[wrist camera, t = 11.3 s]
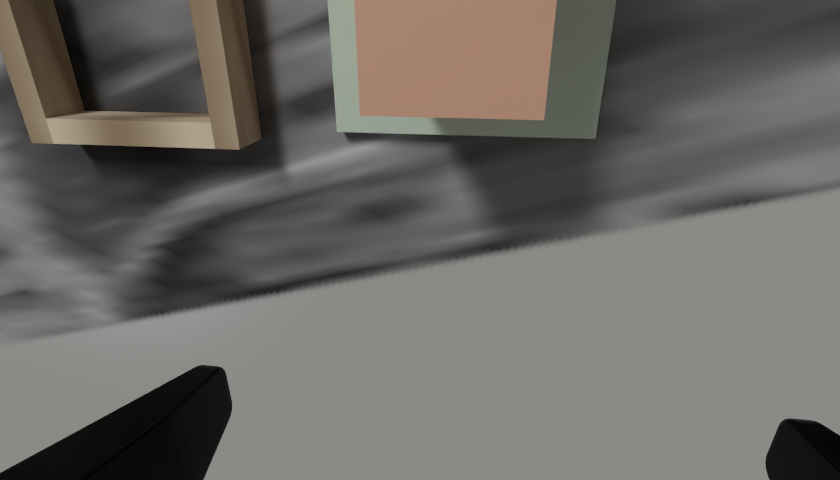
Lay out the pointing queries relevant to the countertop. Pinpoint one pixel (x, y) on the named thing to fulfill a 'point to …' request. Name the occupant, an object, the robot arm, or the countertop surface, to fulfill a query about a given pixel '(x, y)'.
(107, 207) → the countertop surface
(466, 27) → the part block
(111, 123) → the wooden frame
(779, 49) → the countertop surface
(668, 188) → the countertop surface
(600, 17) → the pad
